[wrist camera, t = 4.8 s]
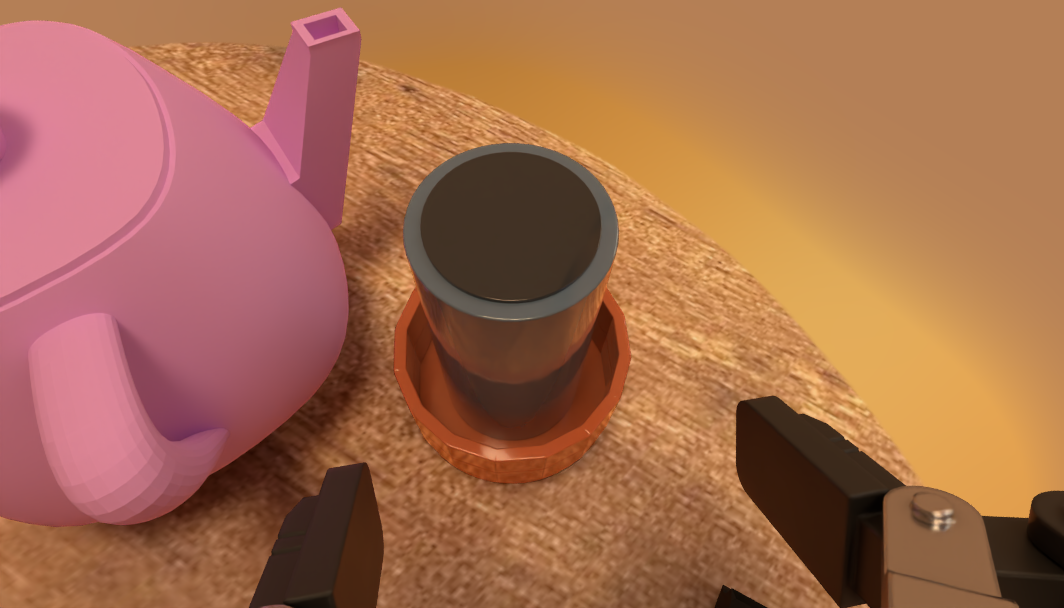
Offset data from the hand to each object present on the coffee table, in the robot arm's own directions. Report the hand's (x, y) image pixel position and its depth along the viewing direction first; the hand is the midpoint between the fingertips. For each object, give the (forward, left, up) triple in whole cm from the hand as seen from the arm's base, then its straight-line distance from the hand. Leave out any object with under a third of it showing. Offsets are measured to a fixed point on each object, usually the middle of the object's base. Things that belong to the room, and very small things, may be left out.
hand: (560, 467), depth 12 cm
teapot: (-16, +4, -13) cm, 21 cm away
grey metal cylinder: (-3, +6, -13) cm, 14 cm away
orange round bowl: (-3, +6, -13) cm, 15 cm away
